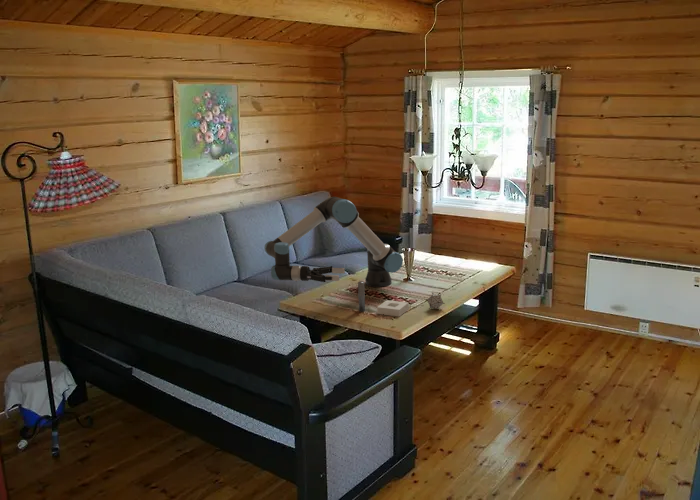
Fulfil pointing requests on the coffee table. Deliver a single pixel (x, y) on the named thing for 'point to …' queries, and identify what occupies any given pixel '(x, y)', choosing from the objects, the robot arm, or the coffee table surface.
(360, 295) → the pin
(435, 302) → the game die
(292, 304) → the coffee table surface
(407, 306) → the socket block
